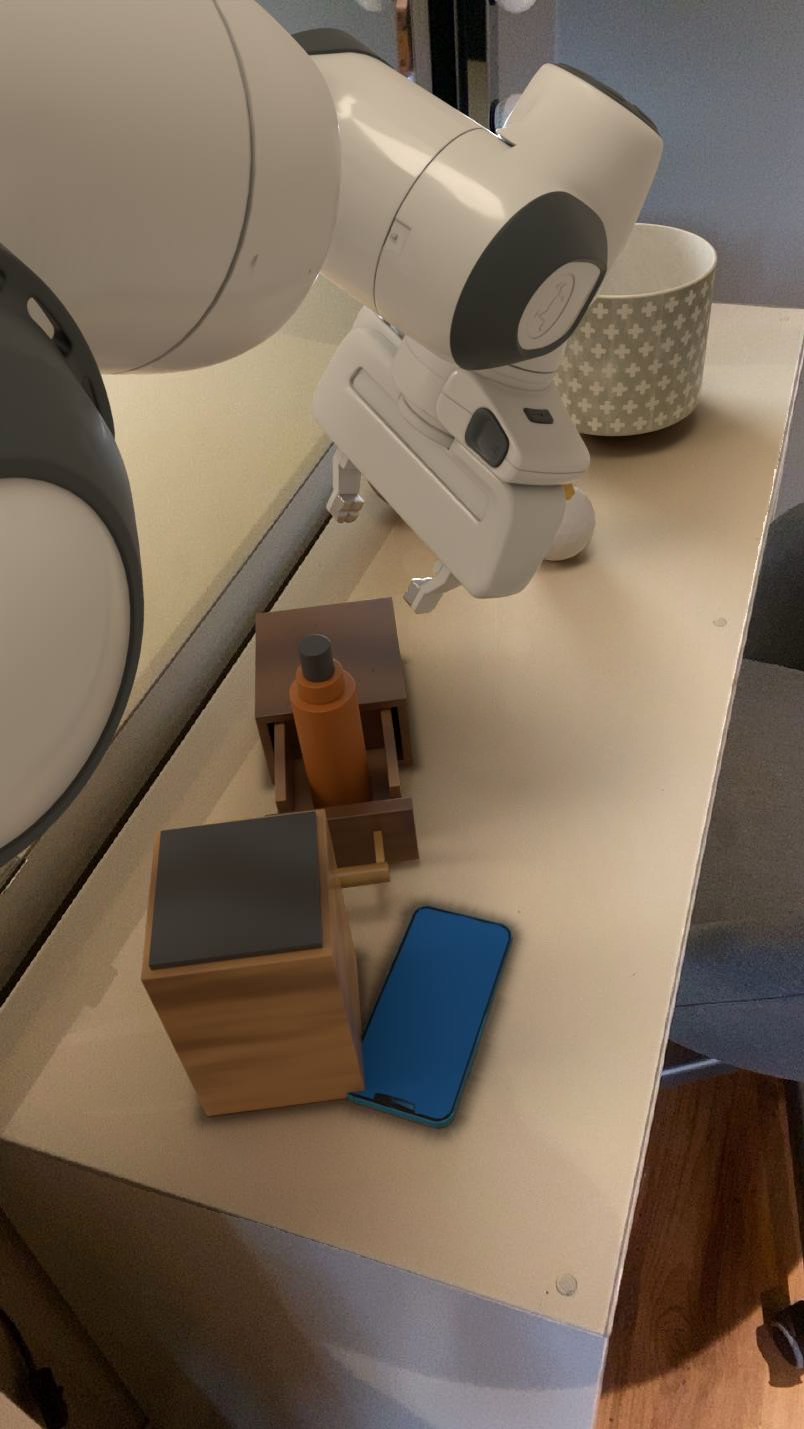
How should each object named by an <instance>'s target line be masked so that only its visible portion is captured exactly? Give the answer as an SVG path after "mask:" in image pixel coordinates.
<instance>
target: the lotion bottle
mask: <svg viewBox="0 0 804 1429" xmlns="http://www.w3.org/2000/svg"><path fill="white" fill-rule="evenodd" d="M297 649H298V654H299V659H300V664H301V665H300V666H299V667H298V669H297V671H296V679H295V680H294V681H293V683H292V684H291V687H290V690H289V697H290V701H291V706H292V710H293V715H294V719H295V724H296V728H297V733H298V737H299V742H300V746H301V751H302V755H303V760H304V764H305V769H306V773H307V778H308V782H309V787H310V791H311V796H312V800H313V805H314V807H315V809H318V808H326V807H334V806H341V805H349V804H357V803H365V802H371V801H372V797H373V793H372V787H371V781H370V774H369V768H368V762H367V756H366V749H365V743H364V737H363V731H362V724H361V718H360V712H359V706H358V699H357V693H356V687H355V682H354V679H353V678H352V676H351V675H350V674H349V673H347V672H346V671H344V670H342V666H341V665H340V663H339V662H338V661H337V660H335V659H333V656H332V650H331V645H330V641H329V639H328V638H327V637H325V636H323V635H310V636H307V637H305V638H303V639H302V640H301V641H300V642H299V643H298V646H297Z"/></svg>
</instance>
